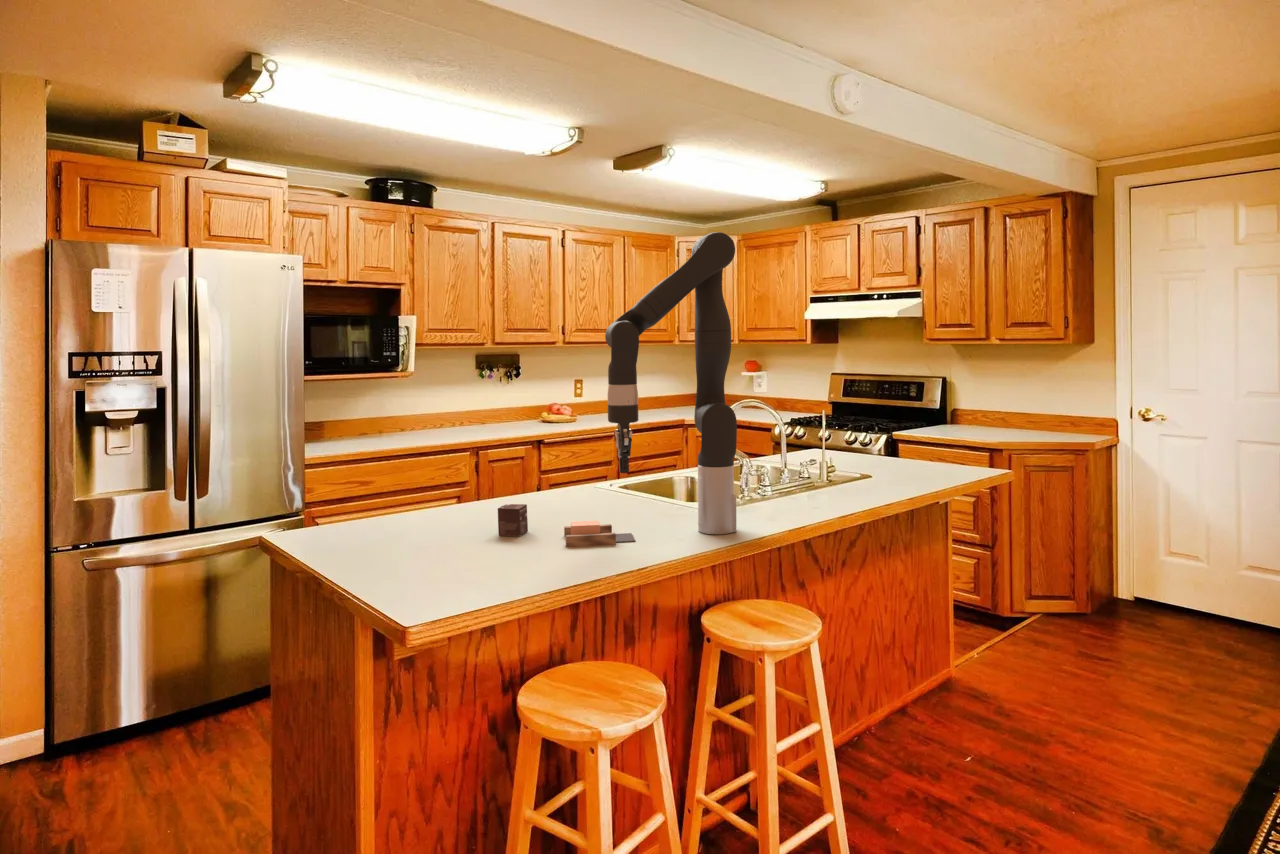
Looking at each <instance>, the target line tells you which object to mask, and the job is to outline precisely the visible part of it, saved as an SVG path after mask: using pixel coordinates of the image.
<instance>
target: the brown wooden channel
mask: <svg viewBox="0 0 1280 854" xmlns="http://www.w3.org/2000/svg"><path fill="white" fill-rule="evenodd" d="M563 528H564V529H563V531H564V535H563V536H564V538H565V547H566V548H567V547H568V548H569V547H572V548H573V547H589V546H591V547H593V546H608V545H609V546H610V545H616V544H617V543H616V534H617V533H616V532H613V529H612V528H613V527H612V524H610V523H609V524H600V534H579V535H571V525H570V526H569V525H568V526H567V525H564V526H563Z"/></svg>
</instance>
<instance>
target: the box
mask: <svg viewBox="0 0 1280 854" xmlns="http://www.w3.org/2000/svg"><path fill="white" fill-rule="evenodd" d="M528 521H529V520H528V504H526V503H525V504H523V503H522V504H521V503H519V504H518V503H517V504H516V503H515V504H514V503H508V504H507V503H506V504H504V505H501V506H499V507H498V508H497V524H498V525H497V527H498V529H497V530H498V531H497V532H498V536H499V537H521V536H523V535H525V534H526V533H528V532H529V531H528V530H529V529H528V528H529V526H528V524H529V523H528Z"/></svg>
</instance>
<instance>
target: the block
mask: <svg viewBox="0 0 1280 854" xmlns="http://www.w3.org/2000/svg"><path fill="white" fill-rule="evenodd" d="M600 525H601V524H600V521H599V520H583V521H582V520H581V521H580V520H579V521H578V520H577V521H570V526H571V535H579V534H600Z"/></svg>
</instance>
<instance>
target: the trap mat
mask: <svg viewBox="0 0 1280 854" xmlns="http://www.w3.org/2000/svg"><path fill="white" fill-rule="evenodd" d="M615 534H616V544H618V543H619V544H620V543H635V542H636V539H635V537H634V535H633V534H632V532H630V533H629V532H627V533H626V532H625V533H615Z"/></svg>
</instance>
